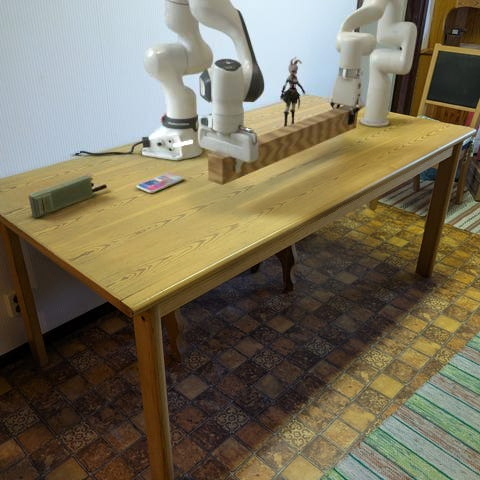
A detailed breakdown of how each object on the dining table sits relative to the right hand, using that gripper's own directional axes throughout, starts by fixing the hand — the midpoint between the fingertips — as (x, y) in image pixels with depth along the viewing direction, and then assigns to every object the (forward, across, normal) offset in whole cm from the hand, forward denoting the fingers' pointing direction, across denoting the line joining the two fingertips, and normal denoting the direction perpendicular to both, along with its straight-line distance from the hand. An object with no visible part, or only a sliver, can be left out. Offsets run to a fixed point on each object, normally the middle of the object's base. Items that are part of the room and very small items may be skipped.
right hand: (343, 122), depth 190 cm
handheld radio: (+11, +34, +96) cm, 103 cm away
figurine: (+11, +31, -9) cm, 34 cm away
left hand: (0, 0, +65) cm, 65 cm away
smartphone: (+11, +26, +69) cm, 74 cm away
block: (+3, 0, +32) cm, 33 cm away
